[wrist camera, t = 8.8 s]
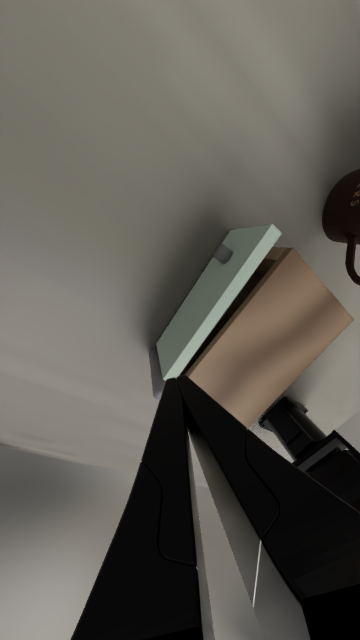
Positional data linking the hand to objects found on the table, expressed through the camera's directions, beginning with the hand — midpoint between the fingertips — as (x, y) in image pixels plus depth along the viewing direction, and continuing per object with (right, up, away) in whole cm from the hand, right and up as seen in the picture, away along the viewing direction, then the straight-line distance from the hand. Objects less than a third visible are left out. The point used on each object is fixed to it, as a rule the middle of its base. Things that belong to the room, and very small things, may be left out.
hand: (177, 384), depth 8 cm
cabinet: (+6, +2, +14) cm, 15 cm away
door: (+1, +5, +11) cm, 12 cm away
